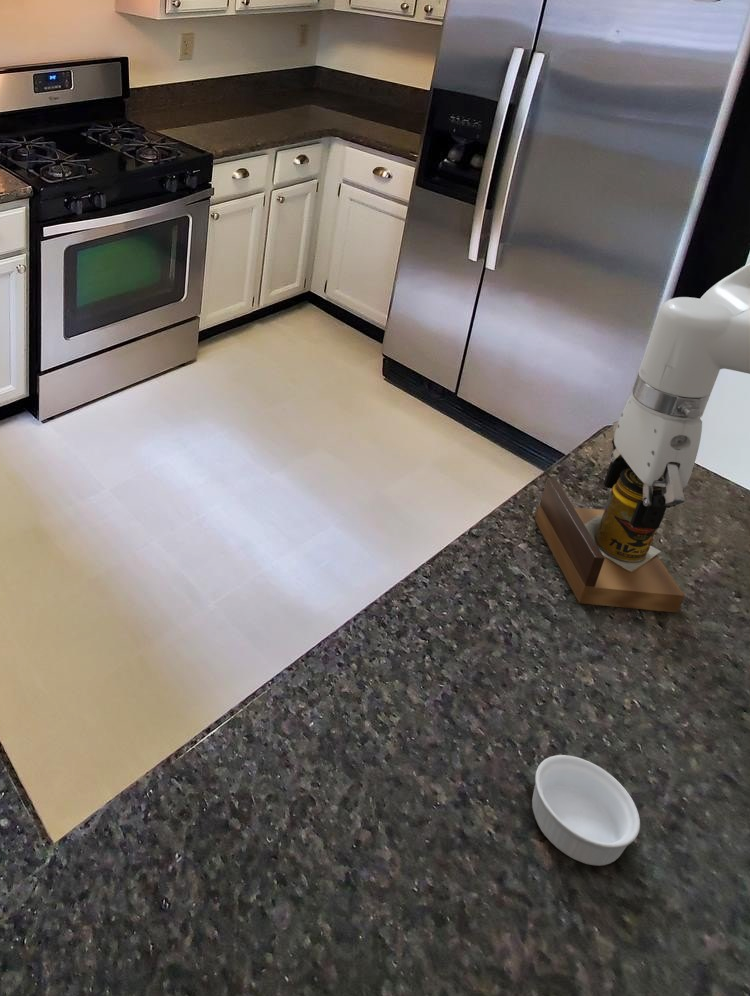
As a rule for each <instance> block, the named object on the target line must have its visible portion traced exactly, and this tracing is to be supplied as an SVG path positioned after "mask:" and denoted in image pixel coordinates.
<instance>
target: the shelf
mask: <svg viewBox="0 0 750 996" xmlns="http://www.w3.org/2000/svg"><path fill="white" fill-rule="evenodd" d="M604 510H605V509H599V508H587V507H575V506H574V505H573V504H572V501H570V499H569V497H568V496H567V494H566V492H565V490H564V489H563V487H562V486H561V484H560V482H559V481H558V479H557V478H555V477H547V478H546V481H545V485H544V488H543V491H542V496H541V498H540V501H539V505H538V508H537V511H536V514H535V519H534V521H535V524H536V525H537V527H538V529H539V531H540V533H541V534H542V536H543V539H544V540H545V542H546V544H547V546H548V547H549V550H550V552H551V553H552V555H553V558H554V559H555V561H556V563H557V564H558V566H559V568H560V570H561V572H562V574H563V576H564V578H565V579H566V581H567V583H568V585H569V587H570V589H571V591H572V593H573V594H574V596H575V598H576V600H577V602H578V604H583V605H593V606H602V607H603V606H605V607H614V608H623V609H624V608H625V609H635V610H636V609H637V610H645V611H657V612H666V613H677V614H678V613H679V612H680V609H681V607H682V605H683V602H684V600H685V597H686V595H685V594H684V592H683V591H682V589H681V588H680V586H679V585H678V583H677V582H676V581H675V579H674V578H673V576H672V574H670V572H669V570H668V569H667V567H666V566H665V565H664V563H663V562H662V561H661V559H660V557H659V556H658V554H657V555H655V556H654V557H653V558H651V559H650V560H649V561H647V562H646V563H644V564H643V565H641V566H640V567H638V568H637V569H635V570H634V571H632V572H631V571H628V570H626V569H625V568H623V567H622V566H620V565H618V564H616V563H615V562H613V561H612V560H610V559H609V558H607V557H605V556H604V555H603V554H602V553H601V551H600V550H599V548H598V546H597V545H596V543H595V541H594V540H593V538H592V536H591V535H590V533H589V532H588V530H587V528H586V527H585V525H584V524H586V523H587V522H589V521H590V520H592V519H593V518H595V517H596V516H598V515H601V516H603V513H604Z"/></svg>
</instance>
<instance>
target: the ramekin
mask: <svg viewBox="0 0 750 996" xmlns="http://www.w3.org/2000/svg"><path fill="white" fill-rule="evenodd" d="M531 807H532V811H533V816H534V819H535V821H536V824H537V825H538V828H539V830H540V831H541V832H542V834H543V835H544V837H546V839H547V840H548V841H549V842H550V843H551V844H552V845H553V846H554V847H555V848H556V849H558V850H559V851H561V852H562V853H563V854H565V855H566V856H568V857H569V858H571V859H573V860H575V861H577V862H580V863H583V864H586V865H589V866H607V865H610V864H612V863H614V862H615V861H616V860H617V859H619V858H620V857H621V856H622V854H623V853H624V851H625V849H626V848H627V847H628V846H629V845H631V844H632V843H633V842H634V841H635V840H636V839H637V837H638V836H639V833H640V829H641V819H640V815H639V814H640V813H639V811H638V808H637V805H636V803H635V801H634V800H633V798H632V797H631V795H630V794H629V792H628V791H627V789H626V788H625V787H624V786H623V785H622V784H621V783H620V782H619V780H617V779H616V778H615V777H614V776H613V775H612V774H611V773H609V772H608V771H607V770H605V769H604V768H602V767H601V766H599V765H597V764H595V763H593V762H591V761H589V760H586V759H585V758H581V757H578V756H574V755H568V754H567V755H566V754H557V755H553V756H548V757H547V758H545V759H543V760H542V761H541V762H540V763H539V764H538V766H537V768H536V771H535V777H534V789H533V794H532V799H531Z"/></svg>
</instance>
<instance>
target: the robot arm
mask: <svg viewBox="0 0 750 996" xmlns="http://www.w3.org/2000/svg"><path fill="white" fill-rule="evenodd" d="M638 369H639V370H638V372H637V376H636V378H635V382H634V384H633V387H632V391H631V394H630V395H629V397H628V400H627V401H626V403H625V405H624V408H623V410H622V413H621V415H620V417H619V420H618V421H614V422H613V423H612V433H613V434H612V435H613V438H612V440H611V444H612V449H613V450H612V451H611V452H610V454H609V458H610V463H609V466H608V469H607V472H606V475H605V478H604V481H603V486H604V487H605V488H606V489H612V487H613V486H614V485H615V484H616V483H617V481H618V479H619V478H620V474H621V472H622V471H623V470H624V469H626V468H630V467H631V469H632V470H633V471H634V473H635V474H636V475H637V476H638V478H639V479H640V480H641V481H642V482H643V500H638V503H637V506H636V508H635V511H634V514H633V517H632V519H631V525H632V526H633V527H636V528H648V529H656V530H658V529H660V526H661V523H662V520H663V518H664V515H665V513H666V510H667V509H670V508H672V507H676V506H678V505H681V504H683V503H684V502H685V500H686V498H685V493H684V489H685V488H687V485H688V484H689V481H690V478H691V476H692V473H693V470H694V466H695V463H696V460H697V456H698V452H699V449H700V443H701V439H702V433H703V432H702V431H703V420H702V419H701V418H702V417H703V415H704V413H705V410H706V407H707V405H708V402H709V400H710V397H711V394H712V391H713V389H714V386H715V384H716V381H717V379H718V376H719V374H720V371H721V370H730V371H733V372H734V371H735V372H741V373H744V374H749V375H750V262H749V263H746V264H745V265H743V266H741V267H740V268H739V269H737V270H735V271H734V272H732V273H731V274H729V275H727V276H725V277H723V278H722V279H721V280H719V281H718V282H716V283H715V284H714V285H712V286H711V287H710V288H709V289H708V290H706V292H704V293H703V295H702V296H701V297H700V298H697V297H689V296H678V297H673V298H669V299H667V300H666V301H665V302H664V303H663V304H662V305H661V306H660V308H659V310H658V312H657V316H656V318H655V322H654V324H653V327H652V330H651V333H650V336H649V339H648V342H647V345H646V349H645V351H644V354H643V357H642V360H641V364H640V366H639V368H638ZM660 477H662V478H663V481H655V480H658V479H659V478H660ZM653 487H662V495H657V496H653Z"/></svg>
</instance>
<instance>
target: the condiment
mask: <svg viewBox="0 0 750 996" xmlns="http://www.w3.org/2000/svg"><path fill="white" fill-rule="evenodd" d="M655 481H663V477H660V478H659V479H658V480H655ZM657 495H662V487H653V496H657ZM638 500H643V482H642V481H641V480H640V479H639V478H638V476H637V475H636V474H635V473H634V471H633V470H632V469H631V467H630V468H626V469H624V470H623V471H622V472H621V474H620V478H619V479H618V481H617V483H616V484H615V485H614V486H613V487H612V488H611V490H610V493H609V496H608V499H607V502H606V504H605V508H604V509H603V510H604V513H603V516H601V515H598V516H596V517H595V518H593V519H592V520H590V521H589V522H587V523H586V524H584V525H585V527H586V528H587V530H588V532H589V533H590V535H591V536H592V538H593V540H594V541H595V543H596V545H597V546H598V548H599V550H600V551H601V553H602V554H603V555H604V556H605V557H607V558H609V559H610V560H612V561H613V562H615V563H616V564H618V565H620V566H622V567H623V568H625V569H626V570H628V571H631V572H632V571H634V570H635V569H637V568H638V567H640V566H641V565H643V564H644V563H646V562H647V561H649V560H650V559H651V558H653V557H654V556H655V555H657V556H658V554H659V553H661V552H662V551H661V550H659V549H658V548H656V547H654V546H652V545H651V544H652V543H653V539H654V536H655V535H656V532H657V529H648V528H636V527H633V526H632V525H631V519H632V517H633V514H634V511H635V508H636V506H637V503H638Z"/></svg>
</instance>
